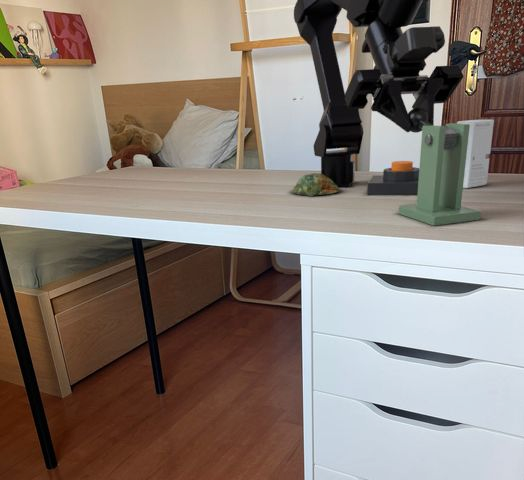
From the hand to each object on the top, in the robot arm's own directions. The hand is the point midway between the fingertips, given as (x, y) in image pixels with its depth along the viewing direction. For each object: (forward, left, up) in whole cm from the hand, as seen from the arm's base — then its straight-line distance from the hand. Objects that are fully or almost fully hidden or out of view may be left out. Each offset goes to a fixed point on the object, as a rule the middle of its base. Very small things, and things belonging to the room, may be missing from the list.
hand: (420, 129), depth 83 cm
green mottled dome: (-20, +17, -13) cm, 29 cm away
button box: (-3, +19, -12) cm, 23 cm away
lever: (+1, -2, -2) cm, 2 cm away
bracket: (+4, -5, -12) cm, 14 cm away
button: (-3, +19, -9) cm, 21 cm away
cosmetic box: (+10, +24, -13) cm, 28 cm away
